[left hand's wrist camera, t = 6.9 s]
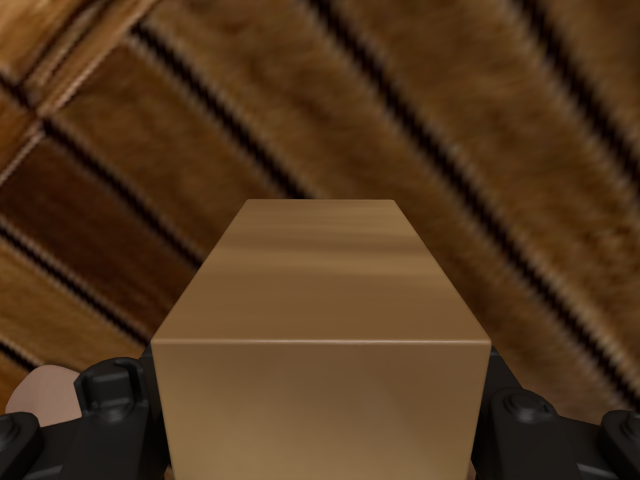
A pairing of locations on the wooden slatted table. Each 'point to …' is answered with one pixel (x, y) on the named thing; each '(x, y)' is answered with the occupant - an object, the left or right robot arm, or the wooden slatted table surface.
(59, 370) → the anatomical model
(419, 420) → the bar
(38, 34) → the wooden slatted table surface
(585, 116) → the wooden slatted table surface
